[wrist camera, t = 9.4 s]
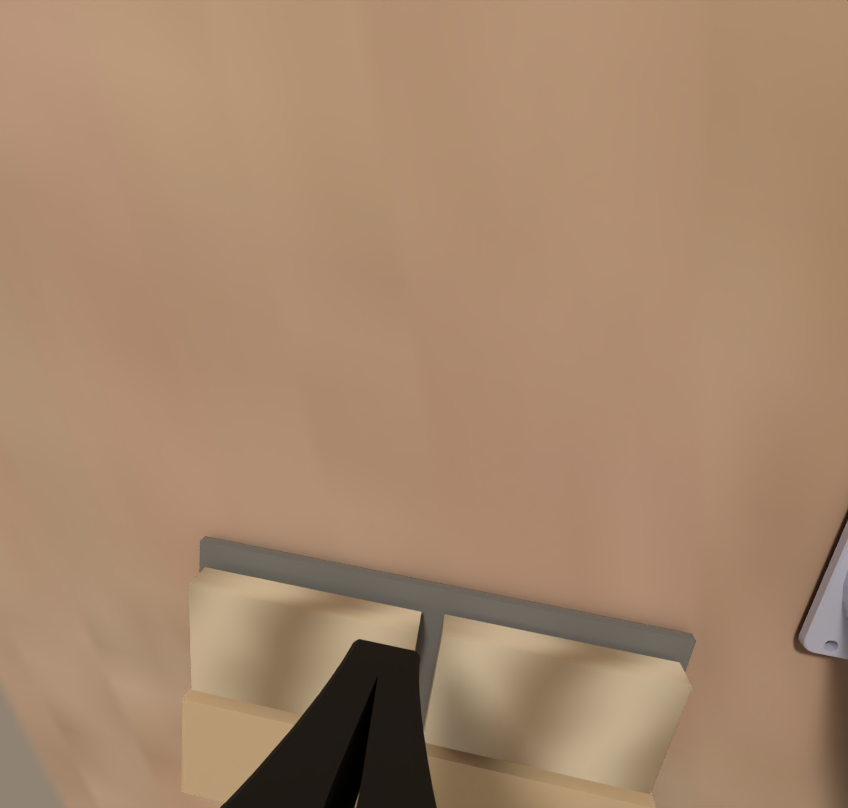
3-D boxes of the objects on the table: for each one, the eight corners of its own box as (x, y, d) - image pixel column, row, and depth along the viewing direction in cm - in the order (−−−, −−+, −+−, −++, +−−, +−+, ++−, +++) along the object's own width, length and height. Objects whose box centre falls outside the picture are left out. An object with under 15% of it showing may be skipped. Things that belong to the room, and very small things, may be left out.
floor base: (691, 633, 19) (711, 664, 18) (608, 870, 23) (618, 912, 21) (205, 536, 21) (183, 555, 19) (200, 770, 24) (181, 802, 23)
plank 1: (421, 611, 19) (417, 633, 18) (404, 712, 21) (400, 737, 20) (205, 567, 20) (188, 585, 19) (206, 667, 22) (191, 689, 21)
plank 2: (679, 662, 19) (692, 687, 18) (640, 765, 20) (649, 794, 19) (444, 614, 20) (442, 634, 18) (425, 717, 21) (422, 742, 20)
